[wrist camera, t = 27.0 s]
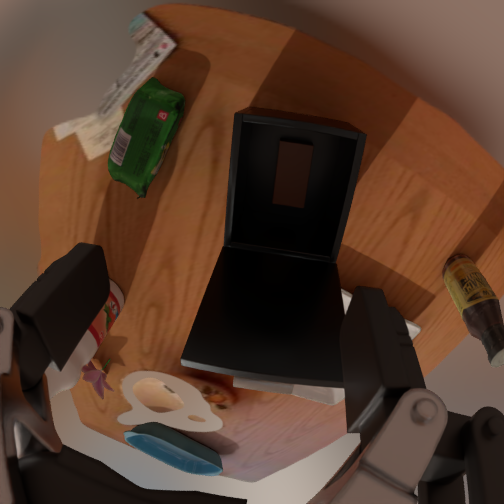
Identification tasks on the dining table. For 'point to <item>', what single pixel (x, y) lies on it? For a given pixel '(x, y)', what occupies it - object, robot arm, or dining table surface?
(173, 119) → the snack package
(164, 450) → the casserole dish
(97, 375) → the lily
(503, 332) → the sauce bottle
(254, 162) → the waste bin
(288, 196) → the chocolate bar
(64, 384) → the fruit juice
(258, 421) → the dining table surface
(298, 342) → the bin lid
